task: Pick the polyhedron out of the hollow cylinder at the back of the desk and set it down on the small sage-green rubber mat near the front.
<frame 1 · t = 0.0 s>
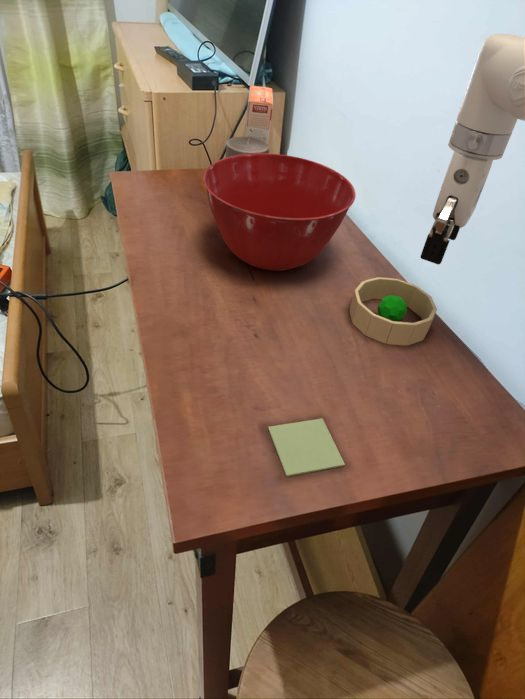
hand: (438, 248, 82), 15 cm above the table, tool pointing down, fingers open, 9 cm apart
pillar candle: (242, 202, 122), on the table
mat: (305, 446, 67), on the table
polyhedron: (388, 320, 91), on the table
cracker box: (252, 180, 133), on the table
mixing bowl: (270, 254, 105), on the table
hollow cylinder: (388, 320, 91), on the table
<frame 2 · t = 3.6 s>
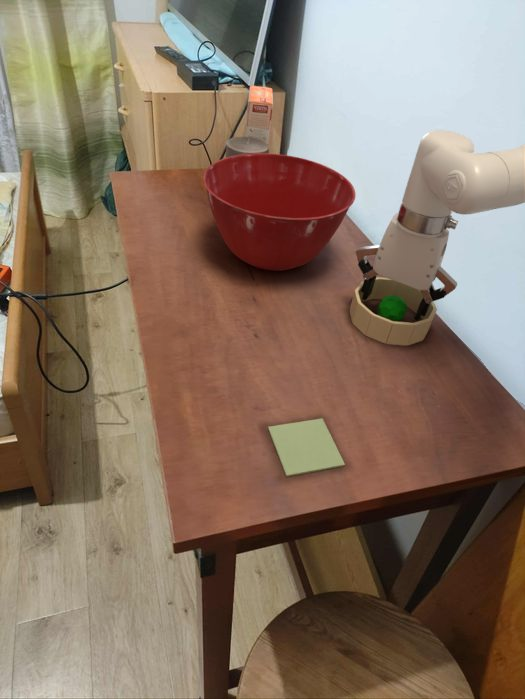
hand: (391, 306, 90), 3 cm above the table, tool pointing down, fingers open, 9 cm apart
nothing on the table moved.
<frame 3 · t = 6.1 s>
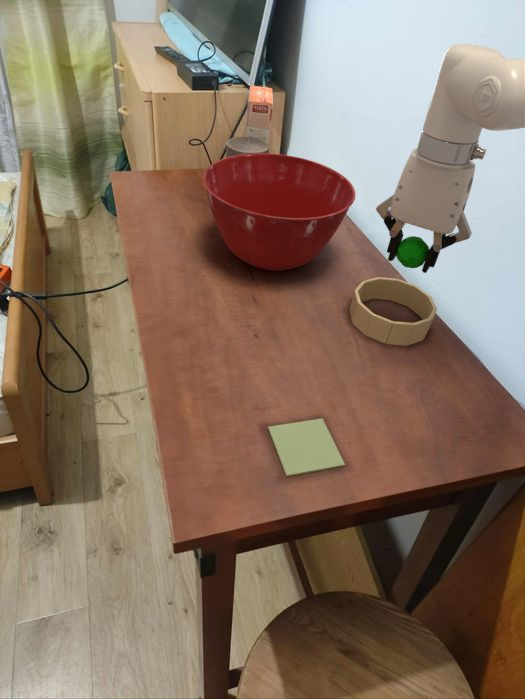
hand: (409, 262, 82), 13 cm above the table, tool pointing down, fingers closed on polyhedron, 5 cm apart
polyhedron: (408, 266, 83), point 12 cm above the table, touching gripper
everything else where it was.
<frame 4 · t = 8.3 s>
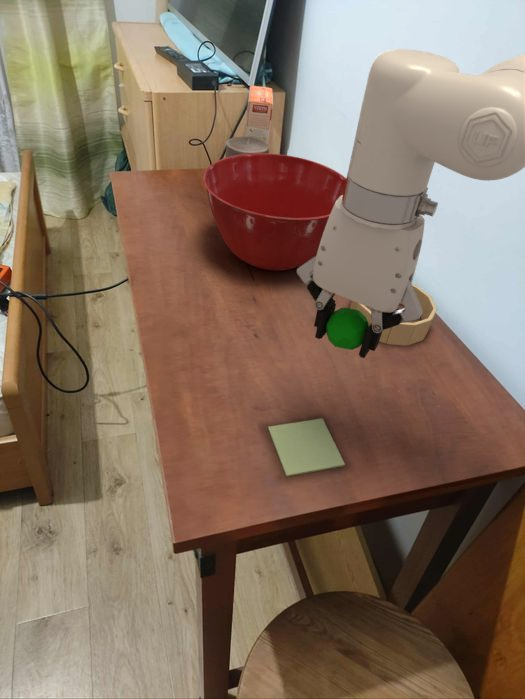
hand: (344, 340, 61), 15 cm above the table, tool pointing down, fingers closed on polyhedron, 5 cm apart
polyhedron: (342, 345, 62), point 14 cm above the table, touching gripper
everything else where it was.
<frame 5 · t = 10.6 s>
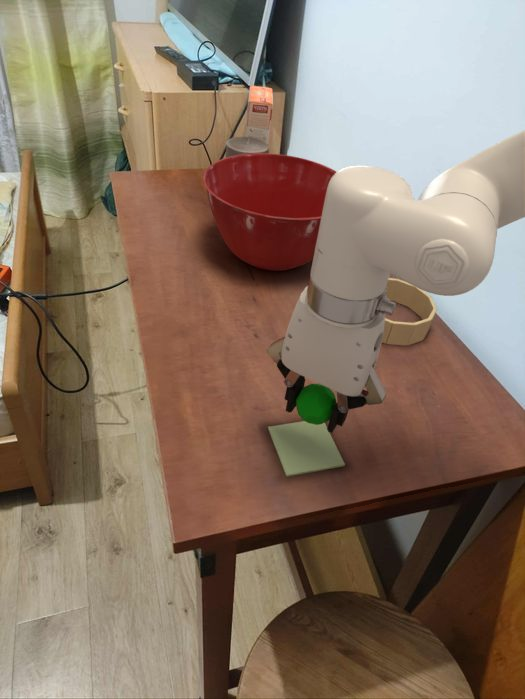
hand: (313, 414, 63), 6 cm above the table, tool pointing down, fingers closed on polyhedron, 5 cm apart
polyhedron: (312, 418, 64), point 6 cm above the table, touching gripper
everything else where it was.
when the fingers open (1 cm above the table, at t = 12.3 s): polyhedron stays where it is, resting on mat.
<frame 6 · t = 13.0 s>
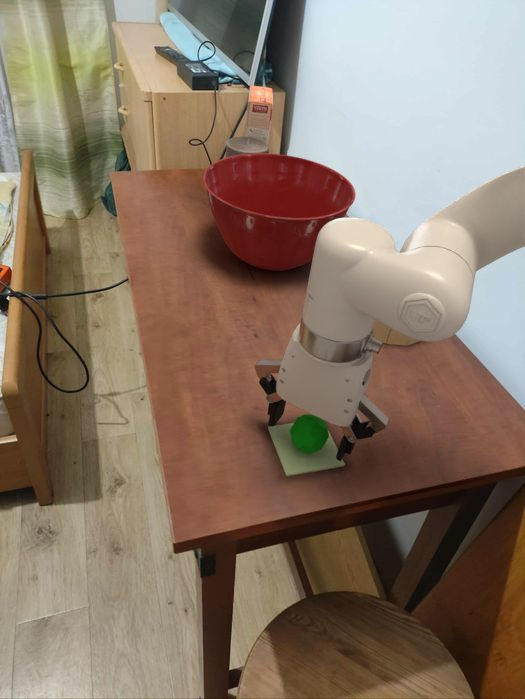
hand: (308, 435, 66), 2 cm above the table, tool pointing down, fingers open, 9 cm apart
polyhedron: (306, 446, 67), resting on mat
everything else where it was.
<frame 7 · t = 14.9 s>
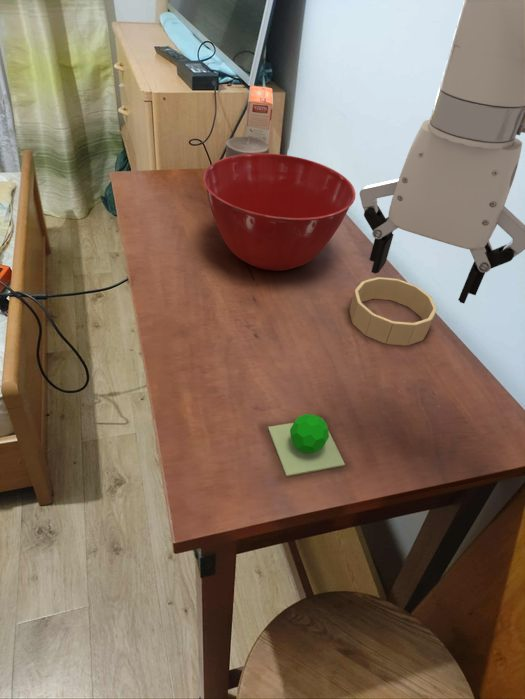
hand: (419, 282, 56), 24 cm above the table, tool pointing down, fingers open, 9 cm apart
nothing on the table moved.
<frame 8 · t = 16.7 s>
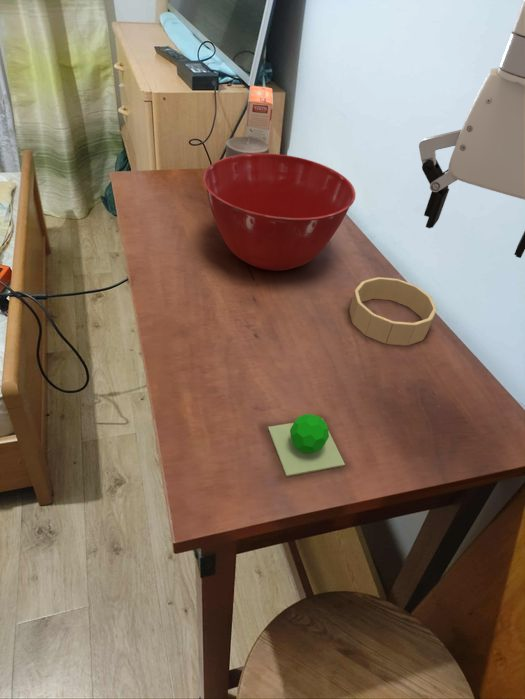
hand: (474, 237, 56), 28 cm above the table, tool pointing down, fingers open, 9 cm apart
nothing on the table moved.
at the end: polyhedron inside the target area on the mat (0.1 cm from its centre), point 0.2 cm above the mat's base; the gripper is holding nothing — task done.
